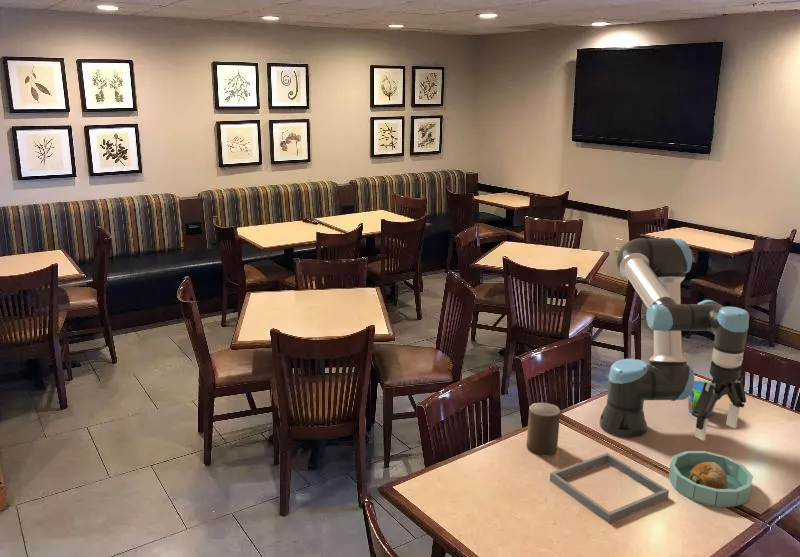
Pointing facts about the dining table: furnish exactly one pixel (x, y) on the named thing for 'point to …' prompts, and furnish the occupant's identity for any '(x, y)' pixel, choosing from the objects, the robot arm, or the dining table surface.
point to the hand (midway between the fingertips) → (715, 432)
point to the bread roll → (709, 475)
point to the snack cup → (696, 396)
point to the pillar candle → (543, 428)
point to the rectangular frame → (608, 516)
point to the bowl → (730, 497)
